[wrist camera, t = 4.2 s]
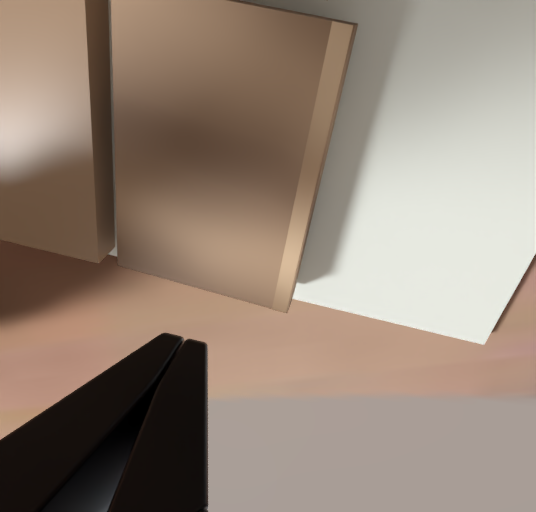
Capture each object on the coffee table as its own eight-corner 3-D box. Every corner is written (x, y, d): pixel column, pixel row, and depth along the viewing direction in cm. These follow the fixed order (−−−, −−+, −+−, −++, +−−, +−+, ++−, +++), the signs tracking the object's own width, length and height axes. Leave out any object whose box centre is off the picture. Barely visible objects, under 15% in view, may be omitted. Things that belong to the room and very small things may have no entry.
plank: (294, 292, 19) (287, 313, 18) (134, 248, 20) (117, 265, 19) (358, 23, 14) (355, 25, 12) (134, -21, 15) (110, -23, 13)
